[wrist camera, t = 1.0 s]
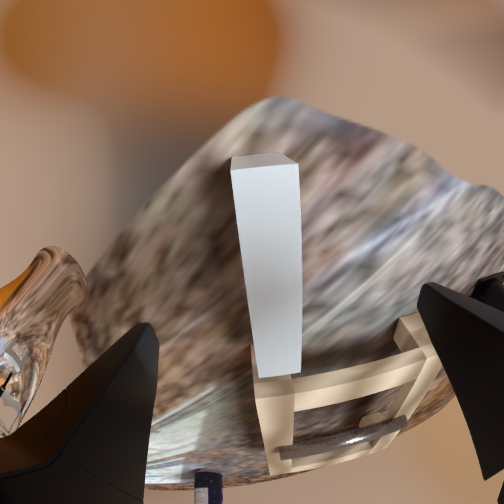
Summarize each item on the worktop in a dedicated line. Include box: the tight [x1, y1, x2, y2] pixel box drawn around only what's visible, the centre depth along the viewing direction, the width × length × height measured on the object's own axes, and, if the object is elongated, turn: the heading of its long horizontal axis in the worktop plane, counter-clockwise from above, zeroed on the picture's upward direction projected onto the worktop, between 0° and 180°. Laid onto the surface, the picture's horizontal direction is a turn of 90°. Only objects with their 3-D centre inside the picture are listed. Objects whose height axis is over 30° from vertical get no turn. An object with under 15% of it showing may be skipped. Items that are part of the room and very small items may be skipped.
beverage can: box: [194, 469, 223, 504], centre depth 36 cm, size 6×6×12 cm
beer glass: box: [0, 247, 87, 437], centre depth 13 cm, size 7×7×15 cm
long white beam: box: [230, 152, 302, 378], centre depth 17 cm, size 3×14×6 cm, turn 6°
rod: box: [279, 415, 407, 461], centre depth 23 cm, size 15×2×2 cm, turn 96°
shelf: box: [250, 312, 442, 475], centre depth 26 cm, size 18×24×6 cm
